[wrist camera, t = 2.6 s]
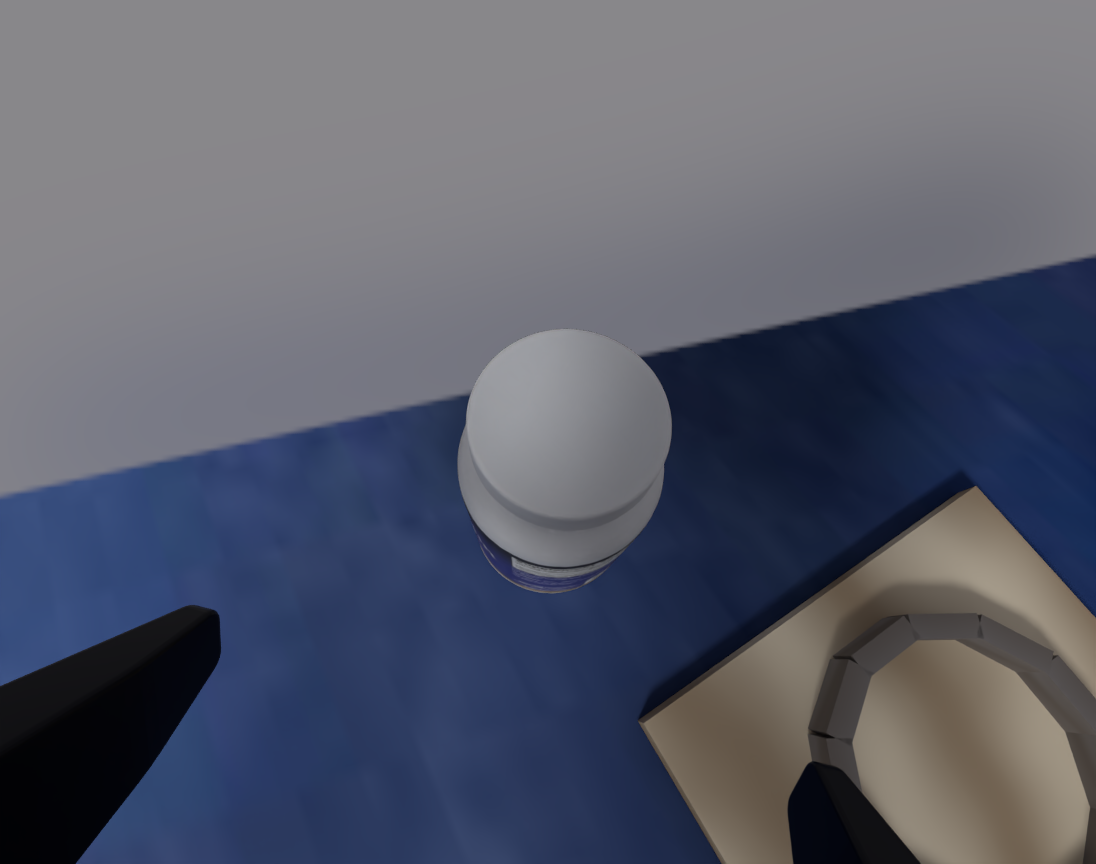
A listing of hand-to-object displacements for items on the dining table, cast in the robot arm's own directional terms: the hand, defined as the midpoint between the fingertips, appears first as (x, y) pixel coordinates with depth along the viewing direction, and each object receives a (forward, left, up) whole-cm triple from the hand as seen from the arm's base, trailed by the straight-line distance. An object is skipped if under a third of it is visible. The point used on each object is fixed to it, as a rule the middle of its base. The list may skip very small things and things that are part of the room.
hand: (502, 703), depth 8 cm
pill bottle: (+4, +4, -12) cm, 14 cm away
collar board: (+11, -10, -12) cm, 19 cm away
